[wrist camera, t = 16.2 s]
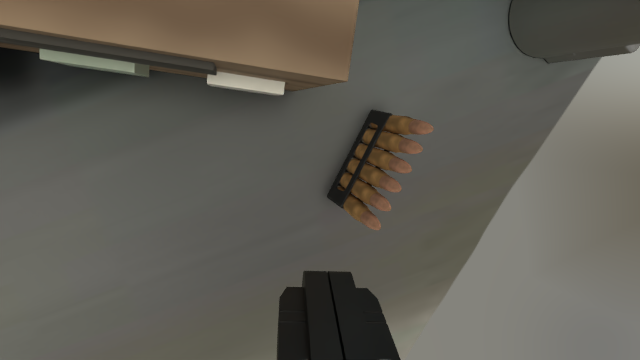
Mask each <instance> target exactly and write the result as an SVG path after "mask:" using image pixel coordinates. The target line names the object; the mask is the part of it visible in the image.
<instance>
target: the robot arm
mask: <svg viewBox="0 0 640 360" xmlns="http://www.w3.org/2000/svg"><path fill="white" fill-rule="evenodd" d="M509 24H510V31H511V34H512V37H513V40H514V42H515V43H516V45H517V46H518V48H519V49H520V50H521V51H522V52H524V53H525V54H527V55H528V56H531V57H534V58H544V59H545V60H546V61H547V62H548V63H555V62H563V61H571V60H579V59H587V58H595V57H604V56H612V55H619V54H627V53H632V52H634V51H636V50H637V49H638V48H639V46H640V0H513V1H512V3H511V8H510V14H509ZM277 360H400V357H399V354H398V352H397V349H396V347H395V344H394V341H393V339H392V336H391V333H390V331H389V328H388V325H387V324H386V320H385V317H384V315H383V314H382V309H381V307H380V304H379V301H378V299H377V298H376V297H375V296H374V295H373V294H372V293H371V292H370V291H369V290H368V289H367V288H356V287H355V284H354V280H353V277H352V274H351V272H332V271H328V272H326V271H304V272H303V281H302V287H287V288H286V289H285V290H284V292H283V293H282V295H281V296H280V301H279V319H278V337H277Z"/></svg>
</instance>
